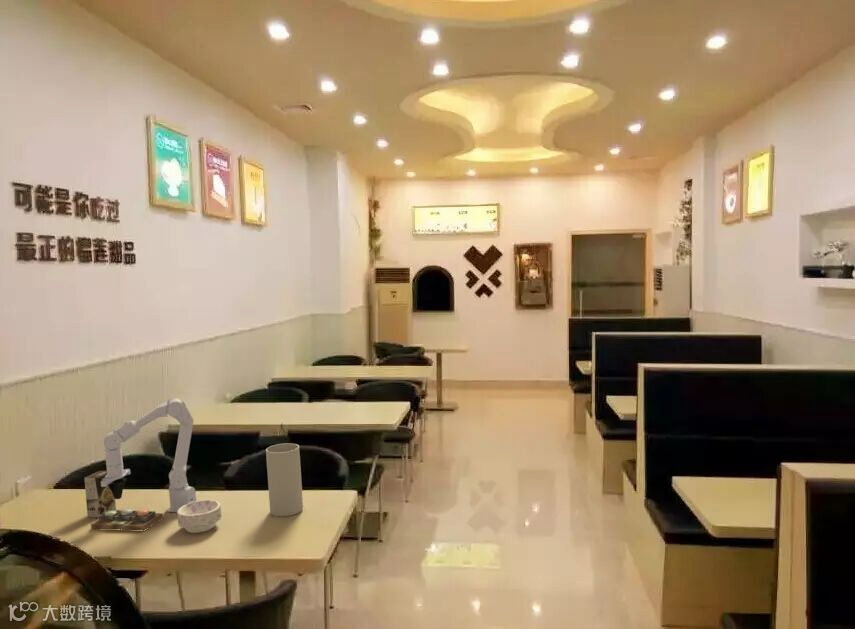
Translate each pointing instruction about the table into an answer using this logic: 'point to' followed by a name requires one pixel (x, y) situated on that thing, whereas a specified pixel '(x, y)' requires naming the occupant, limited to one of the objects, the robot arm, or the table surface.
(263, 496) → the table surface
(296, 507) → the cylinder vase
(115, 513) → the sage button
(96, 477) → the coffee box
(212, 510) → the paper bowls
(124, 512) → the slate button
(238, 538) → the table surface
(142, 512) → the terracotta button
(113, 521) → the console
